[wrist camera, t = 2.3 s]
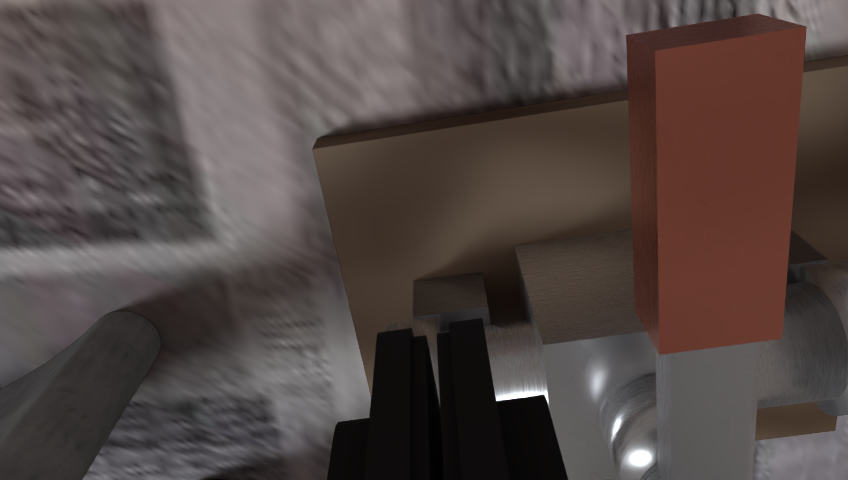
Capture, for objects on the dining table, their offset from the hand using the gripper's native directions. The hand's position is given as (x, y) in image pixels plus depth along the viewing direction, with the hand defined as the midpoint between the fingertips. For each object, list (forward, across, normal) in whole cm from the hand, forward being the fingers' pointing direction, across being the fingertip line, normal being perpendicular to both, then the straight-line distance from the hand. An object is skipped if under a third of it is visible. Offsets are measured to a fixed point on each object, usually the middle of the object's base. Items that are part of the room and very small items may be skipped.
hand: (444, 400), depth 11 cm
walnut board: (+18, -6, +10) cm, 22 cm away
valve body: (+17, -6, +10) cm, 21 cm away
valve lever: (+7, -6, +4) cm, 10 cm away
